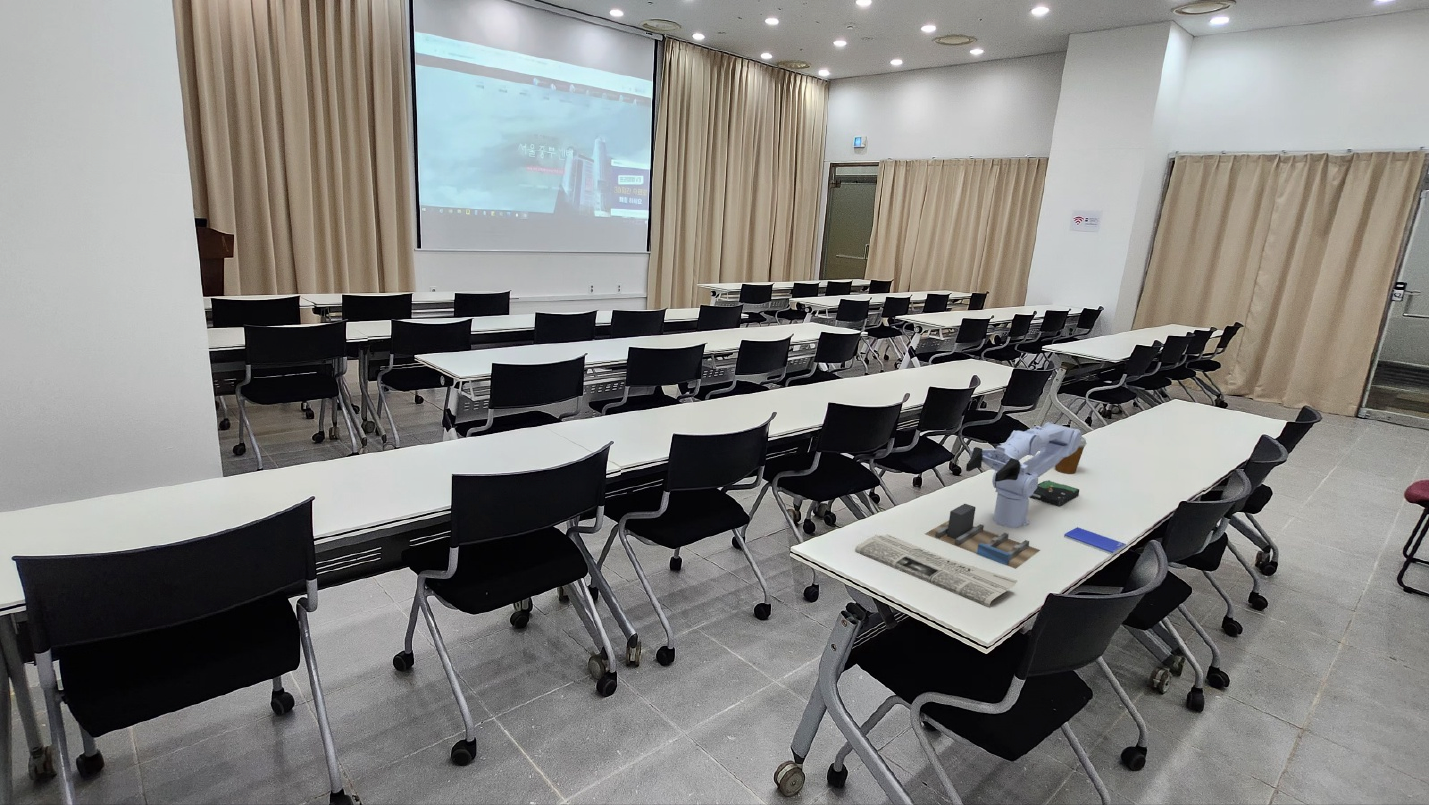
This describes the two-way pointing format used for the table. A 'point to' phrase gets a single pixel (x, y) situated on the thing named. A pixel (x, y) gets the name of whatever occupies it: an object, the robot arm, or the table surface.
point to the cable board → (988, 545)
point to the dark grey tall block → (961, 520)
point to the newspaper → (936, 569)
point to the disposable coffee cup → (1071, 460)
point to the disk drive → (1054, 493)
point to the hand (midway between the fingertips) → (981, 472)
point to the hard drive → (1095, 541)
